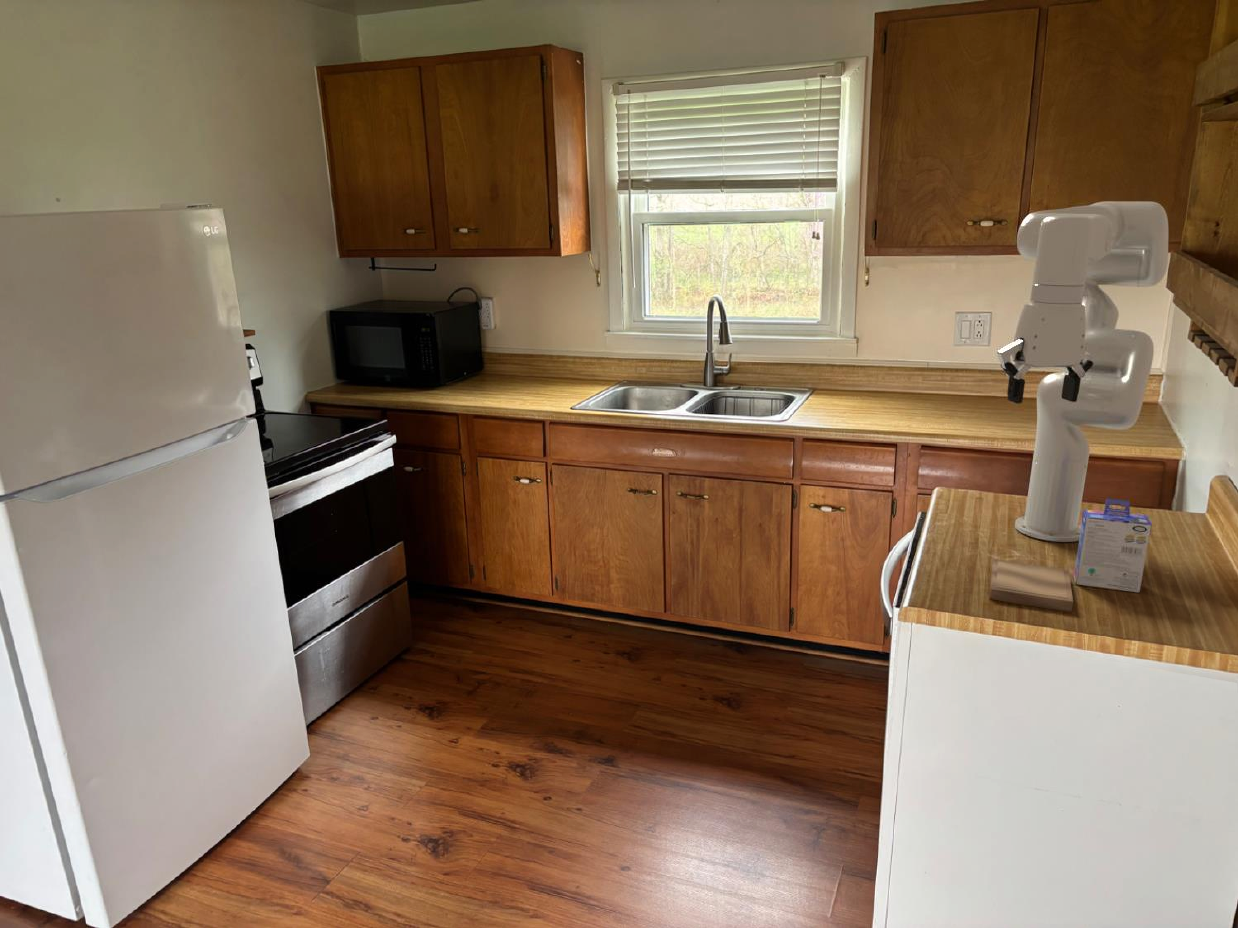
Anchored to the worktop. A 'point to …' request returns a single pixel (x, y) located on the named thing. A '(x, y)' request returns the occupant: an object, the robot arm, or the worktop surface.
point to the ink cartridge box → (1112, 548)
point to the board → (1031, 585)
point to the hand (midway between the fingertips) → (1041, 401)
